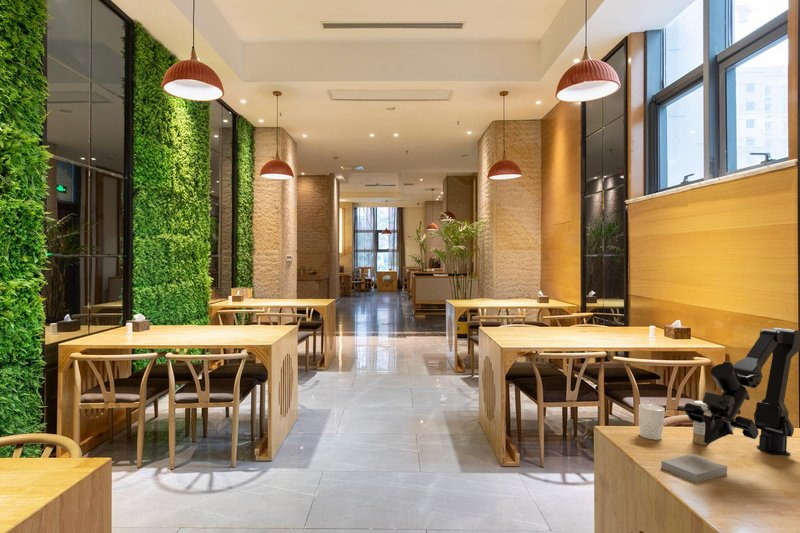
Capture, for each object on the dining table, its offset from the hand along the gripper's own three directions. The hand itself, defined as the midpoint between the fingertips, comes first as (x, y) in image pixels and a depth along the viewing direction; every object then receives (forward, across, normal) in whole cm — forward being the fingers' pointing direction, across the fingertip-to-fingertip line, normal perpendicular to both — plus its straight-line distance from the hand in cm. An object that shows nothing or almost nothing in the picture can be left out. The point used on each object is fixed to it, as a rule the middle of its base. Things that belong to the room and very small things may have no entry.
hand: (706, 442), depth 142 cm
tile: (+3, 0, +6) cm, 7 cm away
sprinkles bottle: (-10, -14, +20) cm, 26 cm away
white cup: (-2, -24, +12) cm, 27 cm away
